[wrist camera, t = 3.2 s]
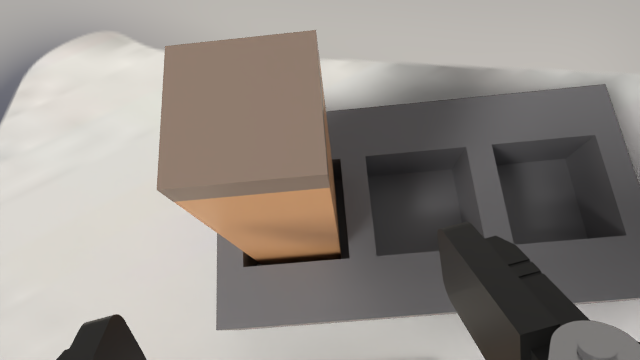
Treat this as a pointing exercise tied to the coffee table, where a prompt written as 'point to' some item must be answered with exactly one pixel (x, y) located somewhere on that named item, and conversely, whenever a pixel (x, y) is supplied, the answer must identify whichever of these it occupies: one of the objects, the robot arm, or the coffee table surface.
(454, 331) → the coffee table surface
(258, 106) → the plug
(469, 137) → the grey compartment tray
